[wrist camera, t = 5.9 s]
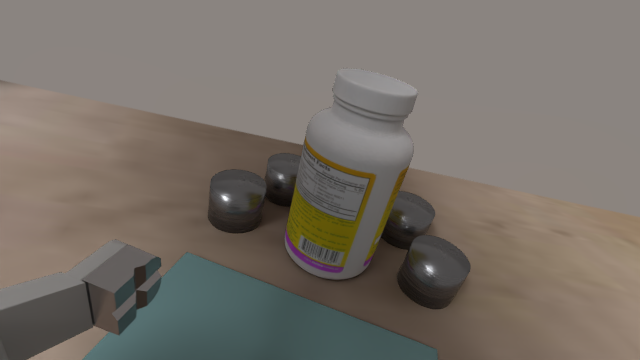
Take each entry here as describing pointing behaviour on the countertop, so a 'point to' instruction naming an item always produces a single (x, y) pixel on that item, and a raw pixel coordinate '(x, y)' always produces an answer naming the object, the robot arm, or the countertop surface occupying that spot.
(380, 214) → the supplement bottle
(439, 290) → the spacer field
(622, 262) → the countertop surface
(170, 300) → the mat
